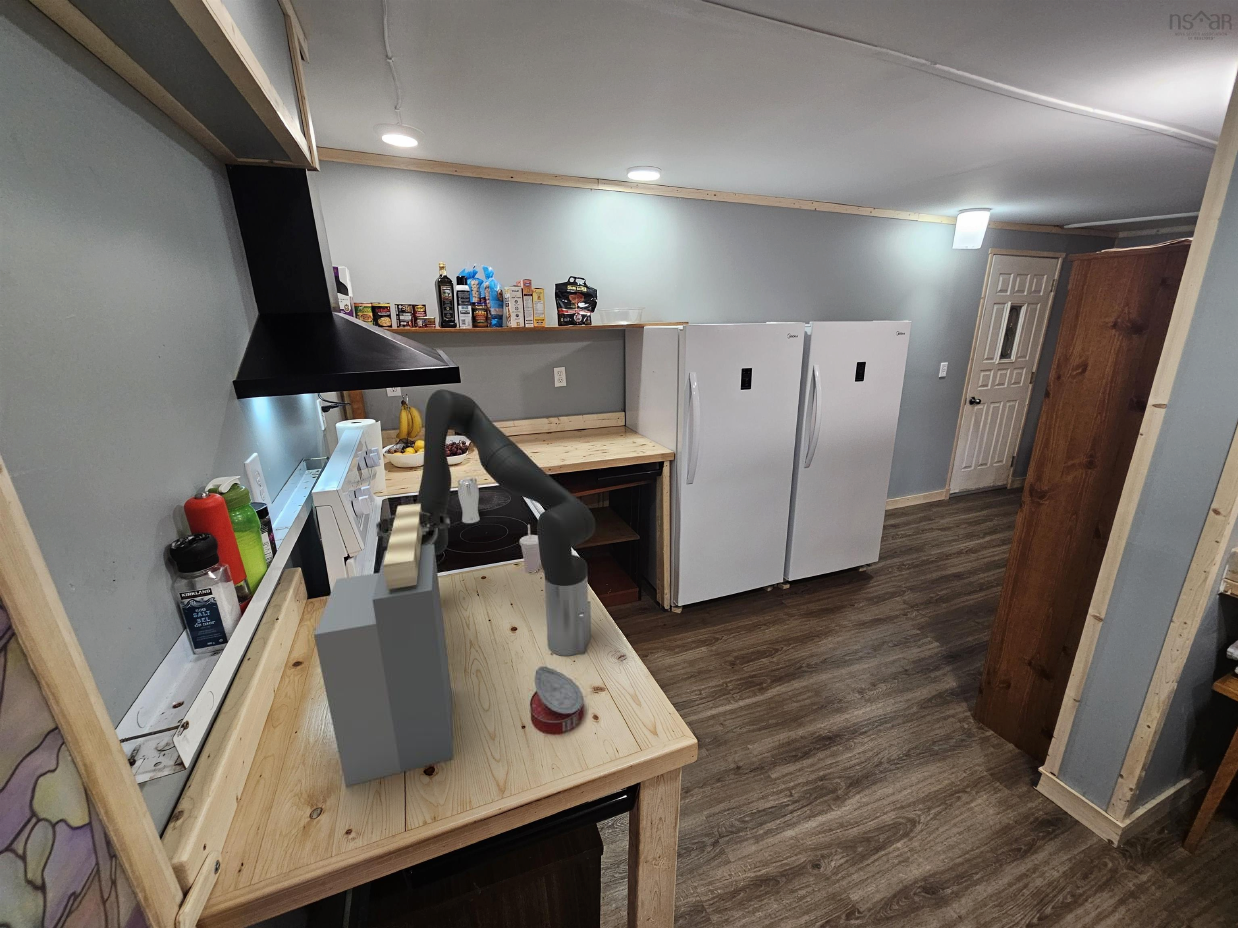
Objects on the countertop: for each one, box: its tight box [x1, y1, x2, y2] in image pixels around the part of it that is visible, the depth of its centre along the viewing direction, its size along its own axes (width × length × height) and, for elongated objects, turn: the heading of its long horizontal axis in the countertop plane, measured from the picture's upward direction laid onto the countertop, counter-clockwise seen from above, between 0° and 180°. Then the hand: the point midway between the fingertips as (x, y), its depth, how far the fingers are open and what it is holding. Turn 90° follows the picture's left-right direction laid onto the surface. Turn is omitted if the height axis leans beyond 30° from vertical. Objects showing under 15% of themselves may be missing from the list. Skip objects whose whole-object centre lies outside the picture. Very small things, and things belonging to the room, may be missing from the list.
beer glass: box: [457, 477, 480, 524], centre depth 176 cm, size 7×7×15 cm
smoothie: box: [519, 524, 541, 573], centre depth 141 cm, size 6×6×14 cm
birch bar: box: [383, 503, 423, 589], centre depth 83 cm, size 24×4×4 cm, turn 19°
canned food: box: [529, 665, 584, 736], centre depth 91 cm, size 11×10×10 cm
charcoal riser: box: [313, 544, 454, 788], centre depth 82 cm, size 16×16×32 cm
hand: (407, 519), depth 88 cm, fingers closed on birch bar, 4 cm apart
